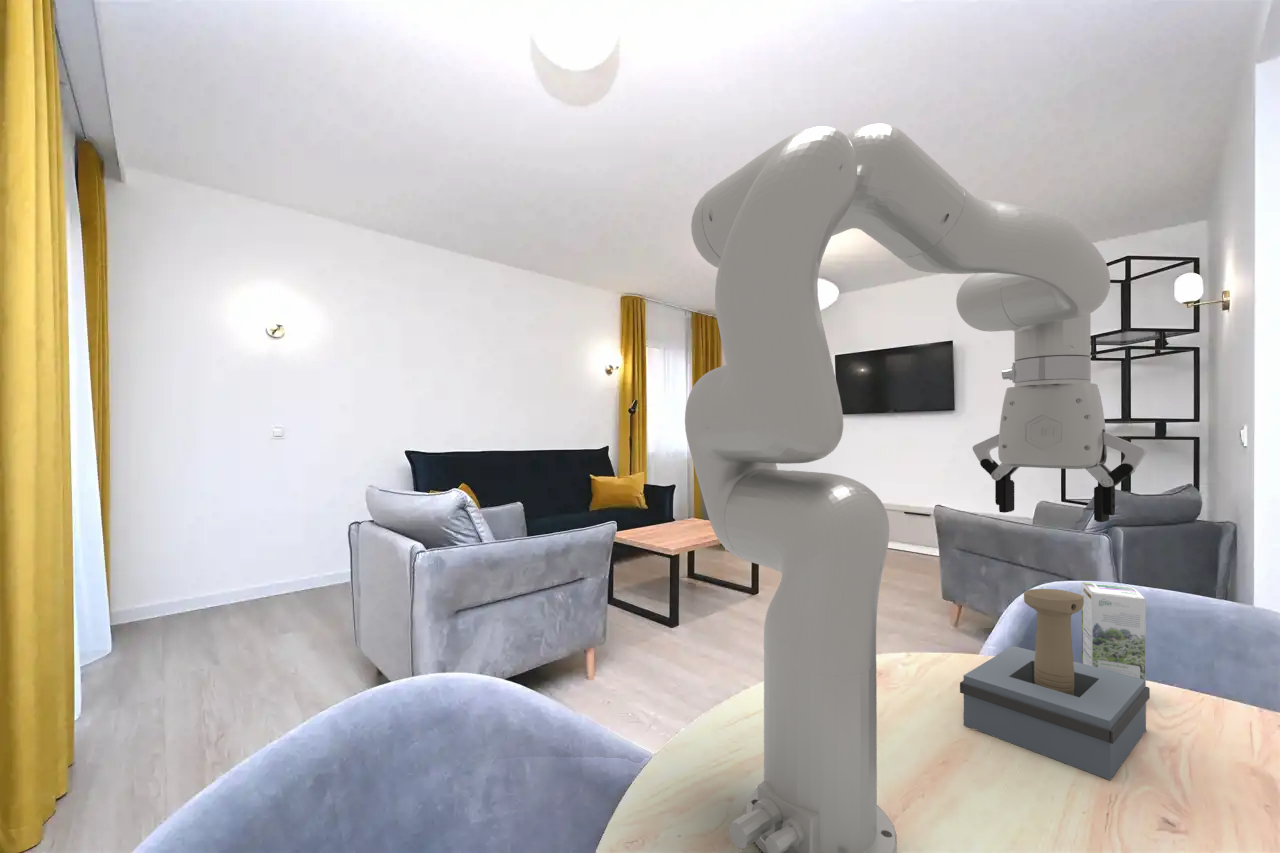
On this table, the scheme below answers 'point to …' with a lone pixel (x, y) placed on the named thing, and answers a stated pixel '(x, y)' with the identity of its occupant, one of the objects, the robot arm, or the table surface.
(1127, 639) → the syrup box
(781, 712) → the robot arm
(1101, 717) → the collar block
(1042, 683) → the handle
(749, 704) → the table surface
